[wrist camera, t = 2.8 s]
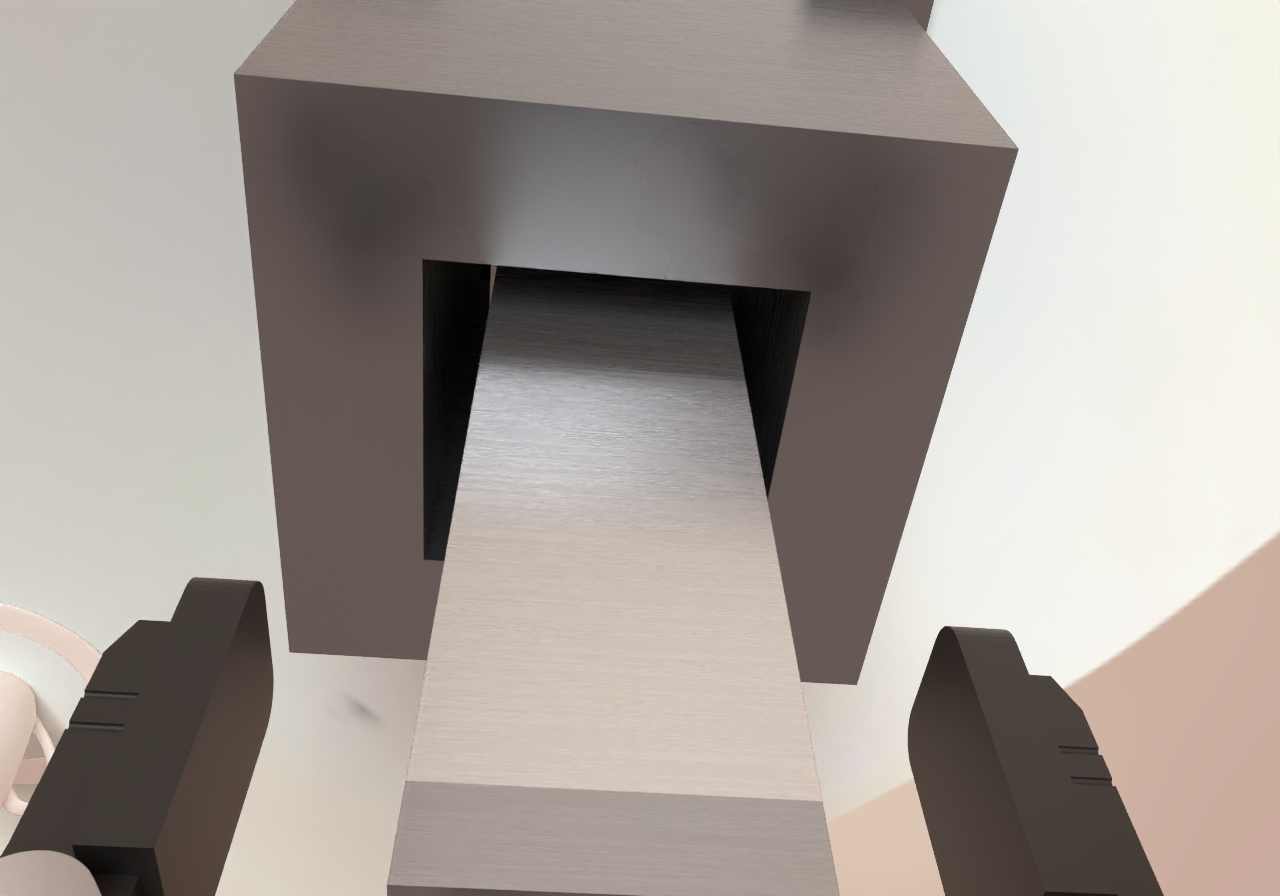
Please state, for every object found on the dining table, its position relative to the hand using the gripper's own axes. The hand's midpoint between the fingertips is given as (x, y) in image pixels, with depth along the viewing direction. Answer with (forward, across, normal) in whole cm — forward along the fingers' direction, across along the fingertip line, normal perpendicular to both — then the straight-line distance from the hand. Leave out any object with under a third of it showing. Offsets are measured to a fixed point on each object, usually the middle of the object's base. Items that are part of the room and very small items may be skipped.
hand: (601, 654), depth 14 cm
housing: (+15, 0, 0) cm, 15 cm away
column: (+15, 0, 0) cm, 15 cm away
